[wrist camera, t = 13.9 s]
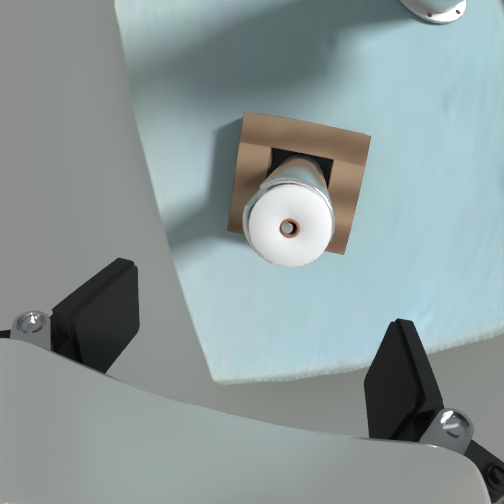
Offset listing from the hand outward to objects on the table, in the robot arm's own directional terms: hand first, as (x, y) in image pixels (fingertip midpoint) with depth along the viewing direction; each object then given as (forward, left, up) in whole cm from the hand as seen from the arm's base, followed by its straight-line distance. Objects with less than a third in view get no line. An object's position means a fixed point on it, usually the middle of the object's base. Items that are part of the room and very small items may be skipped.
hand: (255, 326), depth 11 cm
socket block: (0, 0, -36) cm, 36 cm away
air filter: (0, 0, -36) cm, 36 cm away
